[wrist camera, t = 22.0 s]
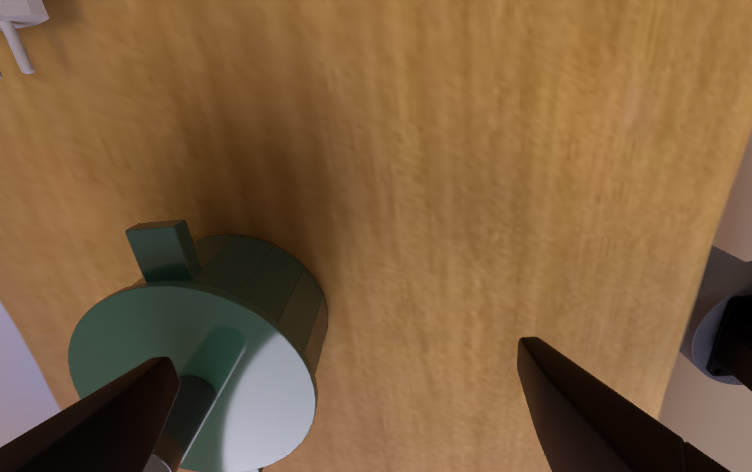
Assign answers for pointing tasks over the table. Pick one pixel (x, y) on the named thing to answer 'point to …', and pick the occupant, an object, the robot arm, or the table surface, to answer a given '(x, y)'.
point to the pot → (237, 276)
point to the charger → (20, 26)
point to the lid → (203, 373)
